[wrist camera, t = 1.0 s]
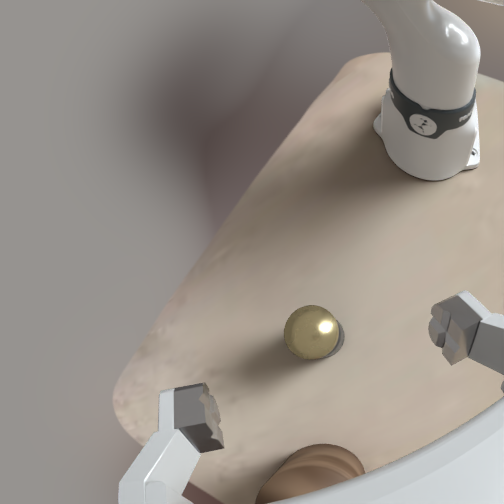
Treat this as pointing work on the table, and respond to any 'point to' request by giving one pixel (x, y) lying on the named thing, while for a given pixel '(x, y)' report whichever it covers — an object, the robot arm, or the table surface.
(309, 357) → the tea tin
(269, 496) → the brown wooden cylinder
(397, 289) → the table surface
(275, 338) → the table surface
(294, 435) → the table surface
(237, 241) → the table surface
